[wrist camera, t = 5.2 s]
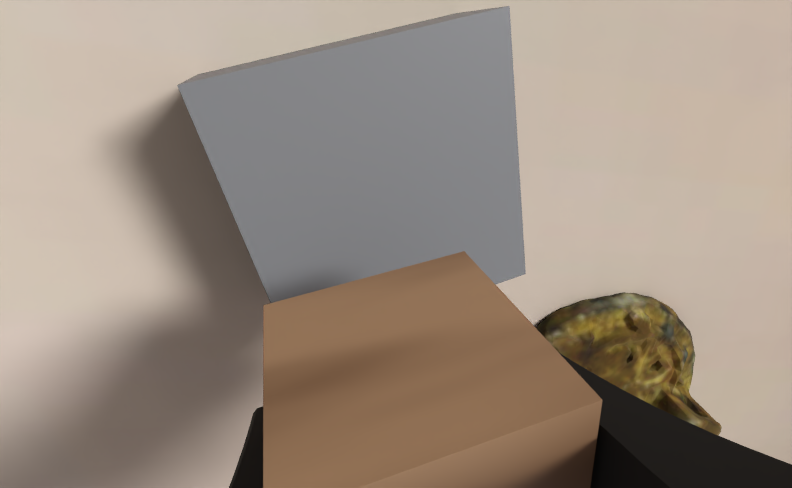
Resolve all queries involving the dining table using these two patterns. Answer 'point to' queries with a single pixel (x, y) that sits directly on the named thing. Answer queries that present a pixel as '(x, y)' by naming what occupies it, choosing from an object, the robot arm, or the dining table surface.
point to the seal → (632, 350)
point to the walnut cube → (420, 388)
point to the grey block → (370, 152)
